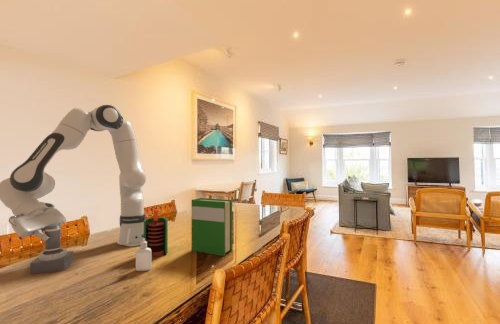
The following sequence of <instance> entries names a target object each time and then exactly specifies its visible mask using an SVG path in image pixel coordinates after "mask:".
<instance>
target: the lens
mask: <svg viewBox="0 0 500 324" xmlns="http://www.w3.org/2000/svg"><path fill="white" fill-rule="evenodd" d="M61 227H62V226H61V225H60V224H50V225H47V226H46V227H45V231H44V234H48V235H49V236H50V239H49V240H47V241H44V251H45V252H46V253H51V252H56V251H59V250H60V248H62V247H61V235H60V234H61V231H62V229H61Z"/></svg>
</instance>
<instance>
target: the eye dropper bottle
mask: <svg viewBox="0 0 500 324" xmlns="http://www.w3.org/2000/svg"><path fill="white" fill-rule="evenodd" d="M152 258H153V257H152V254H151V249H150V248H147V242H146V241H145V238H143V240H142V242H140V245H139V248H137V249H136V251H135V271H136V272H145V271H146V272H147V271H150V270H151V269H152V265H153V263H152V260H153V259H152Z"/></svg>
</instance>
